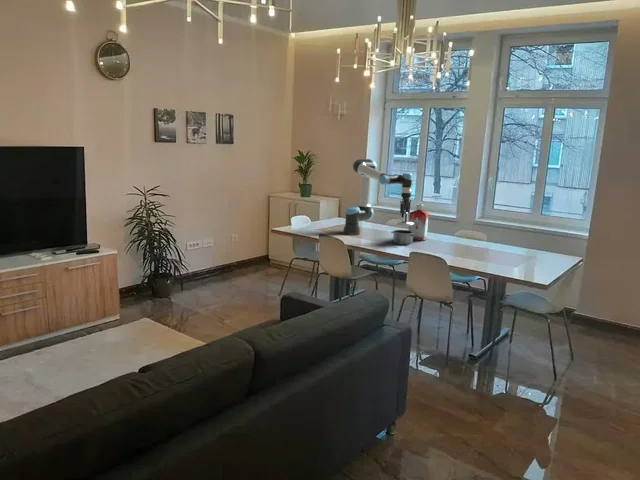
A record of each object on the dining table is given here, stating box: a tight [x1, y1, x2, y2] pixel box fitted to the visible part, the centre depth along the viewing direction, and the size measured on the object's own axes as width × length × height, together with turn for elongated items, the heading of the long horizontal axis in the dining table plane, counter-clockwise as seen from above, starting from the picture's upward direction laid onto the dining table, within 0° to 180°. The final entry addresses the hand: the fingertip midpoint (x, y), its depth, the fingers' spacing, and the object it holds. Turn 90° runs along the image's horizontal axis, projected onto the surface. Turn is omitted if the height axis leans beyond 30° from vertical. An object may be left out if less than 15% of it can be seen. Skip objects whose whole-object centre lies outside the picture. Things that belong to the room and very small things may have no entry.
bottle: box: [407, 203, 430, 242], centre depth 433 cm, size 14×10×30 cm
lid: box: [393, 212, 414, 227], centre depth 416 cm, size 16×16×10 cm
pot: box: [390, 229, 416, 246], centre depth 420 cm, size 21×16×9 cm
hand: (404, 221), depth 417 cm, fingers closed on lid, 4 cm apart
